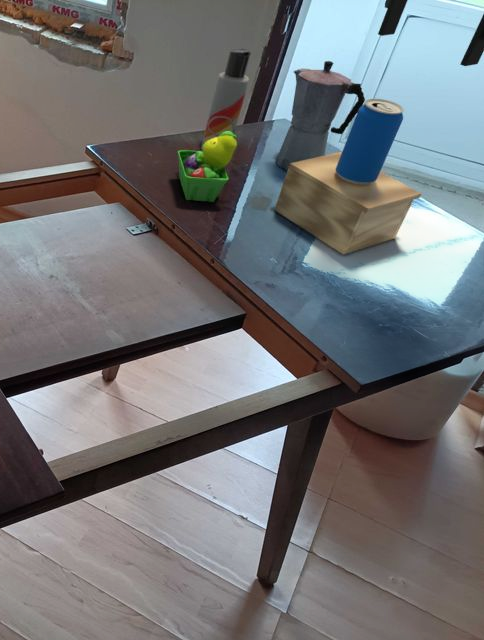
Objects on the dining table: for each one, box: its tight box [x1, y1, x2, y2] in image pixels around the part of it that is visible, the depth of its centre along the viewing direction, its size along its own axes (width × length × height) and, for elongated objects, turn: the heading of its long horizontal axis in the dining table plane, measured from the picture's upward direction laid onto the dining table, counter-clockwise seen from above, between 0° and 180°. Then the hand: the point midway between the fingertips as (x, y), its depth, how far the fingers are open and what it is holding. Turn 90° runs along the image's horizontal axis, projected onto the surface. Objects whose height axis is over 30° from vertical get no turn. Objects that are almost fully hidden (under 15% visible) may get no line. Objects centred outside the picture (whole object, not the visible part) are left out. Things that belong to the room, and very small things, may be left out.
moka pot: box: [275, 60, 366, 171], centre depth 130 cm, size 10×15×20 cm, turn 40°
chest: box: [274, 168, 414, 255], centre depth 116 cm, size 16×13×9 cm
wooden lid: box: [289, 151, 422, 213], centre depth 112 cm, size 16×13×1 cm
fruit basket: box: [177, 131, 238, 203], centre depth 123 cm, size 11×9×11 cm
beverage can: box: [336, 98, 405, 185], centre depth 108 cm, size 6×6×12 cm
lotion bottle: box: [200, 48, 252, 152], centre depth 133 cm, size 6×6×20 cm
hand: (425, 48), depth 97 cm, fingers open, 13 cm apart
